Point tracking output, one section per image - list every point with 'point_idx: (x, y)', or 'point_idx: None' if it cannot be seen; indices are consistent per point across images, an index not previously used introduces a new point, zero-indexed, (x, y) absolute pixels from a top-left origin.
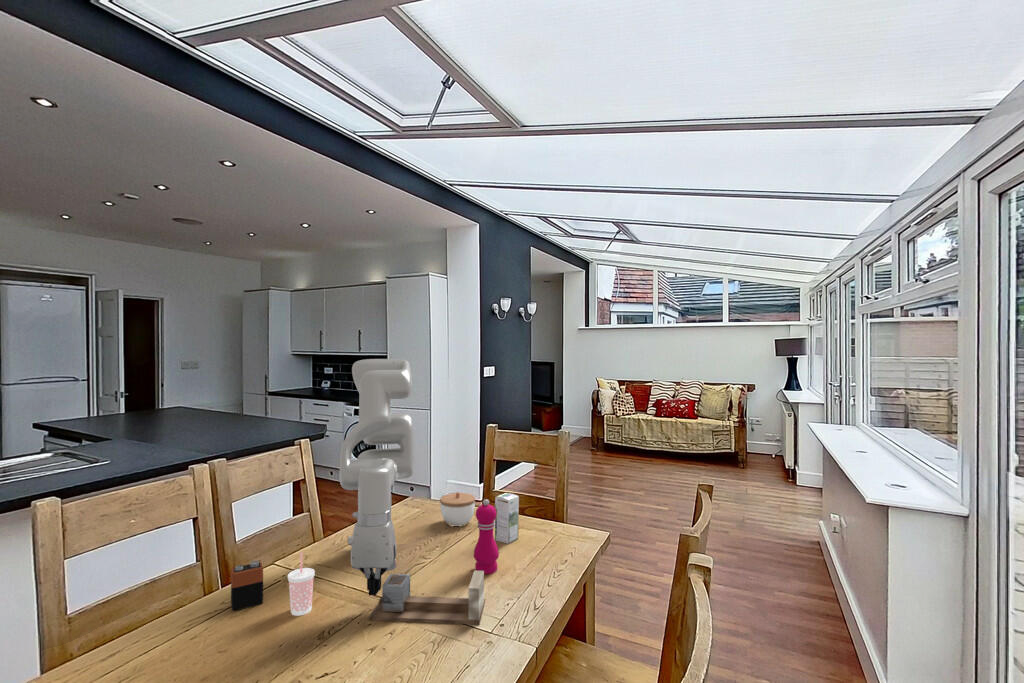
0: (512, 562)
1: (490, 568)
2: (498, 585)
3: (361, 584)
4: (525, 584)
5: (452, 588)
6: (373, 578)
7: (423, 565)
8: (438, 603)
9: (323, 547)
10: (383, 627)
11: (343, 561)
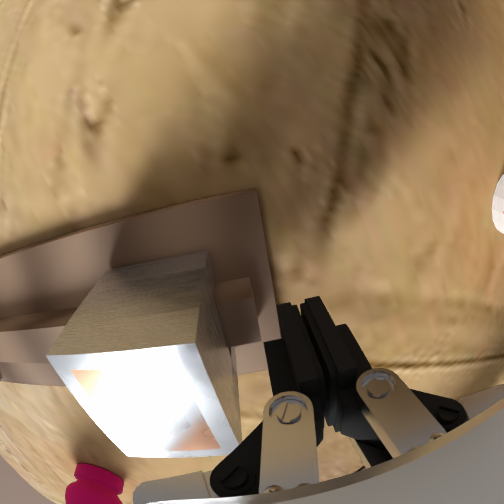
0: None
1: (76, 472)
2: (31, 429)
3: None
4: (3, 426)
5: (99, 427)
6: (323, 391)
7: None
8: (6, 329)
9: None
10: (147, 152)
11: None
